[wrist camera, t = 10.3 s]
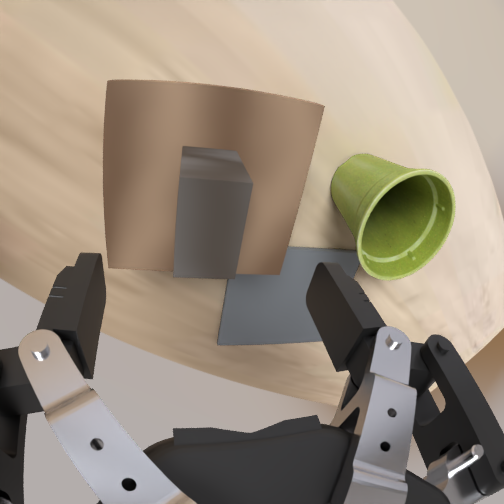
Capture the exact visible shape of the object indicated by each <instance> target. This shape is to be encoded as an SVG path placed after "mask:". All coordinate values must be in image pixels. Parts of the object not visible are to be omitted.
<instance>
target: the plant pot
mask: <svg viewBox="0 0 504 504" xmlns="http://www.w3.org/2000/svg"><path fill="white" fill-rule="evenodd" d="M331 194H332V198H333V200H334V202H335V204H336V206H337V208H338V209H339V211H340V213H341V214H342V216H343V218H344V219H345V221H346V223H347V225H348V227H349V228H350V230H351V232H352V234H353V236H354V238H355V243H356V251H357V256H358V259H359V262H360V264H361V266H362V267H363V269H364V270H365V271H366V272H367V273H368V274H369V275H371V276H372V277H374V278H377V279H380V280H397V279H401V278H403V277H406V276H409V275H411V274H413V273H415V272H416V271H418V270H419V269H421V268H422V267H424V266H425V265H426V264H427V263H428V262H429V261H430V260H431V259H432V258H433V257H434V256H435V255H436V254H437V253H438V251H439V250H440V249H441V247H442V246H443V244H444V243H445V241H446V239H447V237H448V235H449V233H450V230H451V228H452V225H453V221H454V217H455V197H454V192H453V189H452V187H451V185H450V183H449V181H448V180H447V179H446V178H445V177H444V176H443V175H441V174H440V173H438V172H436V171H433V170H430V169H413V168H406V167H403V166H400V165H397V164H395V163H392V162H389V161H386V160H384V159H381V158H378V157H376V156H373V155H370V154H358V155H354V156H352V157H351V158H350V159H349V160H347V161H346V162H345V163H344V164H342V165H341V166H340V167H339V168H338V169H337V170H336V172H335V174H334V177H333V180H332V184H331Z"/></svg>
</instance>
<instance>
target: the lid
mask: <svg viewBox="0 0 504 504" xmlns="http://www.w3.org/2000/svg"><path fill="white" fill-rule="evenodd" d="M324 107H325V106H323V105H320V104H318V103H314V102H310V101H305V100H301V99H296V98H292V97H287V96H282V95H277V94H271V93H266V92H260V91H254V90H248V89H241V88H234V87H227V86H219V85H210V84H200V83H190V82H176V81H159V80H109V81H107V91H106V102H105V117H104V139H103V197H104V219H105V235H106V247H107V258H108V268H116V269H135V270H155V271H174V272H173V277H184V278H211V279H235V276H236V274H258V275H280V272H281V269H282V265H283V262H284V258H285V255H286V251H287V248H288V244H289V241H290V237H291V234H292V230H293V226H294V223H295V219H296V215H297V212H298V208H299V204H300V201H301V197H302V193H303V190H304V186H305V182H306V178H307V174H308V171H309V167H310V163H311V159H312V155H313V151H314V147H315V143H316V139H317V135H318V131H319V127H320V123H321V119H322V115H323V111H324Z"/></svg>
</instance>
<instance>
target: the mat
mask: <svg viewBox="0 0 504 504" xmlns="http://www.w3.org/2000/svg"><path fill="white" fill-rule="evenodd" d="M320 262H331V263H339V264H340V266H341V267H342V268H343V270H344V271H345V273H346V274H347V275H349V276H350V277H351V278H354V276H355V273H356V271H357V269H358V267H359V264H360V262H359V259H358V256H357V251H354V250H338V249H322V248H306V247H289V246H288V248H287V251H286V255H285V258H284V262H283V265H282V269H281V272H280V275H258V274H236V276H235V279H228V280H227V286H226V292H225V298H224V304H223V310H222V316H221V322H220V328H219V334H218V340H217V344H218V345H260V344H284V343H302V342H316V341H322V339H321V336H320V334H319V332H318V330H317V328H316V326H315V324H314V321H313V319H312V317H311V315H310V313H309V311H308V309H307V306H306V293H307V290H308V287H309V285H310V282H311V279H312V277H313V274H314V271H315V268H316V266H317V264H318V263H320Z"/></svg>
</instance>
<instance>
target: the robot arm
mask: <svg viewBox="0 0 504 504" xmlns="http://www.w3.org/2000/svg"><path fill="white" fill-rule="evenodd" d="M364 293H365V292H364V291H363V289H362V288H361V286H360V285H359V284H358V283H357V282H356V281H355V280H354V279H353V278H351V277H350V276H349V275H347V274H346V273H345V271H344V270H343V268H342V267H341V266H340V264H339V263H331V262H320V263H318V264H317V266H316V268H315V271H314V274H313V277H312V279H311V282H310V285H309V287H308V290H307V293H306V306H307V309H308V311H309V313H310V315H311V317H312V319H313V321H314V324H315V326H316V328H317V330H318V332H319V334H320V336H321V339H322V341H323V343H324V345H325V347H326V350H327V352H328V354H329V356H330V358H331V360H332V363H333V365H334V367H335V369H336V372H339V371H345V370H348V371H349V373H350V375H349V376H348V378H347V380H346V383H345V386H344V389H343V393H342V396H341V399H340V402H339V405H338V408H337V411H336V414H335V416H334V418H333V420H332V422H331V424H330V425H326V424H320V422H319V419H318V416H317V415H314V416H309V417H302V418H296V419H290V420H284V421H282V422H279V423H277V424H274V425H272V426H269V427H267V428H264V429H262V430H259V431H256V432H253V433H244V432H237V431H230V430H223V429H217V428H181V429H180V428H174V429H173V436H174V437H172V438H169V439H165V440H162V441H160V442H157V443H155V444H153V445H151V446H149V447H148V448H146V449H145V450H143V451H142V450H141V449H140V448H139V446H138V445H137V444H136V443H135V442H134V441H133V439H132V438H131V437H130V436H129V435H128V433H127V432H126V431H125V430H124V429H123V427H122V426H121V425H120V423H119V422H118V421H117V420H116V418H115V417H114V416H113V414H112V413H111V412H110V410H109V409H108V408H107V407H106V405H105V404H104V402H103V401H102V399H101V398H100V397H99V395H98V394H97V393H96V392H95V390H94V389H91V388H90V387H89V386H88V384H87V383H86V381H85V380H84V378H85V379H93V374H94V366H95V360H96V352H97V346H98V340H99V335H100V329H101V324H102V319H103V314H104V309H105V303H106V286H105V278H104V270H103V262H102V256H101V254H100V253H80V254H79V256H78V259H77V261H76V264H75V266H74V267H72V266H66V267H65V268H64V269H63V270H62V271H61V272H60V273H59V274H58V275H57V277H56V279H55V282H54V284H53V288H52V289H51V292H50V294H49V297H48V299H47V302H46V304H45V307H44V310H43V312H42V315H41V318H40V321H39V323H38V326H37V329H36V330H35V331H32V332H31V333H29V334H27V335H26V336H25V337H24V338H23V339H22V341H21V342H20V345H19V346H18V347H14V348H8V349H2V350H0V504H24V494H23V492H24V491H23V472H24V447H25V434H26V423H27V414H29V413H35V412H42V411H45V417H46V419H47V421H48V423H49V425H50V426H51V428H52V430H53V432H54V433H55V435H56V437H57V439H58V440H59V442H60V444H61V445H62V447H63V448H64V450H65V451H66V453H67V455H68V456H69V458H70V459H71V461H72V462H73V464H74V465H75V467H76V468H77V469H78V471H79V472H80V474H81V475H82V477H83V478H84V479H85V481H86V482H87V483H88V485H89V486H90V487H91V489H92V490H93V491H94V493H95V494H96V495H97V496H98V498H99V499H100V501H99V502H98V503H97V504H474V503H476V502H478V501H480V500H482V499H484V498H486V497H488V496H490V495H492V494H494V493H496V492H497V491H499V490H501V489H503V488H504V434H503V431H502V429H501V428H500V426H499V424H498V422H497V420H496V418H495V416H494V414H493V412H492V410H491V408H490V407H489V405H488V403H487V401H486V399H485V397H484V396H483V394H482V392H481V391H480V389H479V387H478V385H477V384H476V382H475V380H474V379H473V377H472V375H471V373H470V372H469V370H468V368H467V367H466V365H465V364H464V362H463V360H462V359H461V357H460V356H459V354H458V352H457V351H456V349H455V348H454V346H453V345H452V343H451V342H450V341H449V340H448V339H446V338H445V337H443V336H441V335H436V334H435V335H431V336H430V337H429V338H428V339H427V341H426V342H425V343H424V344H422V343H415V342H410V340H409V338H408V337H407V336H406V335H405V334H404V333H403V332H402V331H401V330H399V329H397V328H394V327H390V326H386V324H385V323H384V321H383V320H382V318H381V317H380V315H379V313H378V312H377V310H376V309H375V307H374V306H373V304H372V303H371V302H369V298H368V297H367V295H366V294H364ZM435 381H436V383H437V385H438V387H439V389H440V391H441V392H442V394H443V396H444V398H445V402H446V405H445V409H444V411H443V412H442V413H440V411H439V409H438V407H437V405H436V403H435V401H434V399H433V397H432V395H431V394H430V391H429V390H428V388H429V387H430V386H431V385H432V384H433V383H434V382H435ZM412 434H413V436H414V439H415V441H416V443H417V446H418V448H419V451H420V453H421V455H422V458H423V460H424V463H425V465H426V468H427V476H425V477H424V478H423V479H422V478H420V477H418V476H416V475H415V474H413V473H412V472H410V471H408V470H407V469H406V467H407V461H408V456H409V450H410V444H411V438H412Z"/></svg>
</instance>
